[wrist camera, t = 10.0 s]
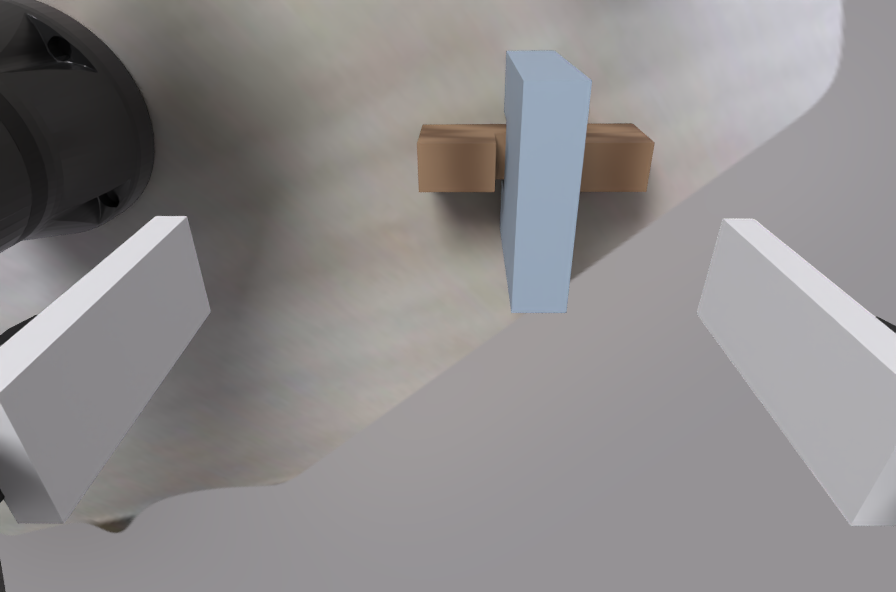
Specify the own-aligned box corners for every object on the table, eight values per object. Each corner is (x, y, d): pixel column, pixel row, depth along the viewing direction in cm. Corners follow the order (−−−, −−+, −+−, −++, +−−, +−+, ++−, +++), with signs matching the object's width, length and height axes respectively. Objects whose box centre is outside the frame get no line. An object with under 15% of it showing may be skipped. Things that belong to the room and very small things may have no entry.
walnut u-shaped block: (424, 168, 39) (418, 192, 34) (422, 124, 37) (416, 143, 33) (625, 167, 38) (646, 191, 34) (632, 123, 37) (654, 142, 33)
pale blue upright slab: (499, 227, 41) (511, 312, 30) (506, 51, 35) (523, 81, 24) (540, 227, 41) (566, 312, 30) (554, 50, 35) (592, 80, 24)
